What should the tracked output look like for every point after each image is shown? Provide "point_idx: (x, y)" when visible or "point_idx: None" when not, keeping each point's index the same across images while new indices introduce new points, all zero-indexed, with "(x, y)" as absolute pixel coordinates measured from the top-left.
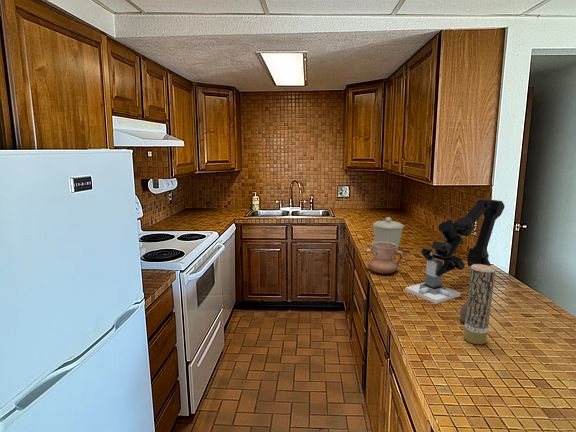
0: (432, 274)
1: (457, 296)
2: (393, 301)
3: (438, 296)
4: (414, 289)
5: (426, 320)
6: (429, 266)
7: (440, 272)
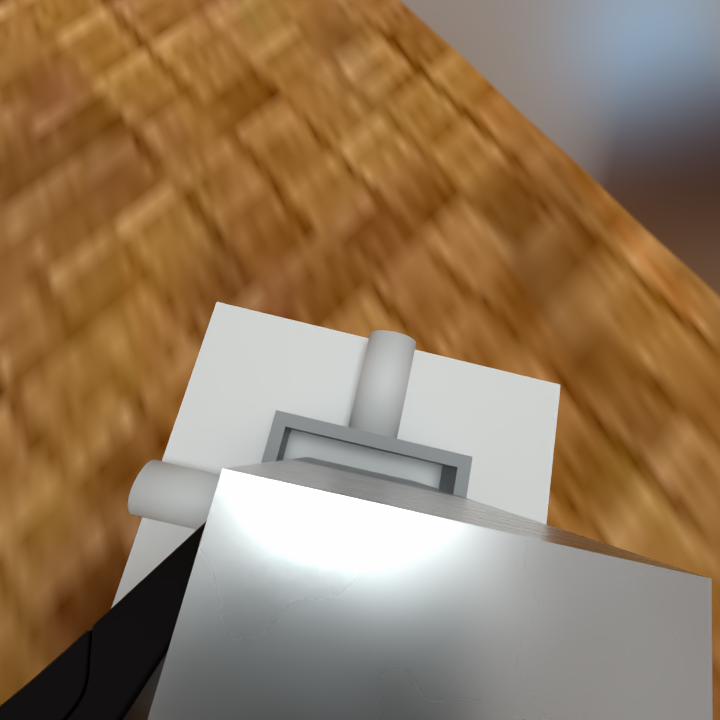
0: (344, 473)
1: None
2: (473, 143)
3: (234, 399)
4: (479, 402)
5: (178, 30)
6: (470, 509)
7: (186, 545)
